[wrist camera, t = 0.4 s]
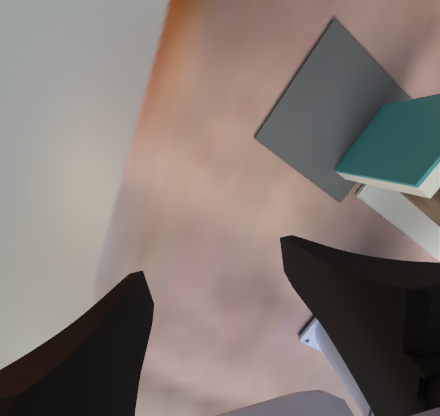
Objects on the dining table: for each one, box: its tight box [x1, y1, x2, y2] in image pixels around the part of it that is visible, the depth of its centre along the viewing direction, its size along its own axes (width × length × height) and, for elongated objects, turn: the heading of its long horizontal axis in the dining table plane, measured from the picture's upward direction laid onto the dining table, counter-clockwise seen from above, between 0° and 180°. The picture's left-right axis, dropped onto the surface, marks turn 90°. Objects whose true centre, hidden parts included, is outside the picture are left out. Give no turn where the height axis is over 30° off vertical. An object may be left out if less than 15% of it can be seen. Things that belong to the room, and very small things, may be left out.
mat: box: [255, 19, 411, 203], centre depth 20 cm, size 11×11×1 cm
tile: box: [334, 94, 440, 199], centre depth 17 cm, size 2×7×8 cm, turn 146°
